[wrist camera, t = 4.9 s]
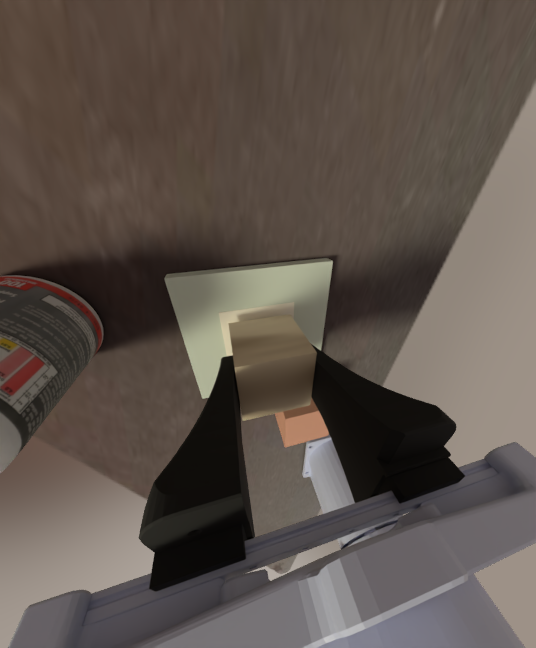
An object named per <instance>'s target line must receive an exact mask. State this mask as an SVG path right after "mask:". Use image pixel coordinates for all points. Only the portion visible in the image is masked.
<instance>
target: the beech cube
mask: <svg viewBox="0 0 536 648" xmlns="http://www.w3.org/2000/svg"><path fill="white" fill-rule="evenodd" d="M228 324H229V331H230V338H231V346H232V353H233V360H234V367H235V374H236V380H237V387H238V393H239V399H240V406H241V412H242V419H243V421H245V420H249V419H253V418H258V417H262V416H266V415H270V414H275V413H279V412H283V411H287V410H292V409H296V408H300V407H304V406H309V405H310V403H311V395H312V387H313V379H314V371H315V363H316V355H317V352H316V351H315V349H314V348H313V346H312V345H311V343H310V342H309V341H308V339H307V338H306V336H305V335H304V333H303V332H302V331H301V329H300V328H299V326H298V325H297V323H296V322H295V321H294V319H293V318H292V316H291V315H283V316H276V317H269V318H262V319H255V320H248V321H241V322H234V323H228Z"/></svg>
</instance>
